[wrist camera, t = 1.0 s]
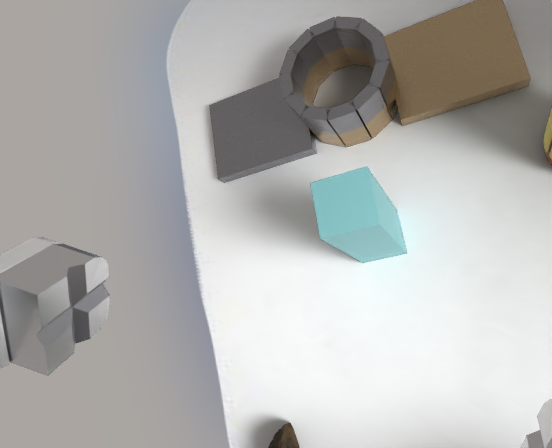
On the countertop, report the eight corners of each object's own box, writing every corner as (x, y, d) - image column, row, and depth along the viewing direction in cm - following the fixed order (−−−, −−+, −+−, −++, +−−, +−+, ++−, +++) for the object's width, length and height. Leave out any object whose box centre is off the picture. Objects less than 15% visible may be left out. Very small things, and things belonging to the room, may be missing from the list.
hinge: (497, -2, 46) (500, -54, 40) (529, 89, 43) (539, 48, 37) (215, 107, 58) (183, 81, 51) (225, 185, 55) (192, 167, 48)
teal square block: (397, 210, 46) (367, 166, 33) (407, 253, 44) (379, 224, 32) (354, 221, 47) (310, 183, 35) (362, 262, 46) (320, 239, 33)
